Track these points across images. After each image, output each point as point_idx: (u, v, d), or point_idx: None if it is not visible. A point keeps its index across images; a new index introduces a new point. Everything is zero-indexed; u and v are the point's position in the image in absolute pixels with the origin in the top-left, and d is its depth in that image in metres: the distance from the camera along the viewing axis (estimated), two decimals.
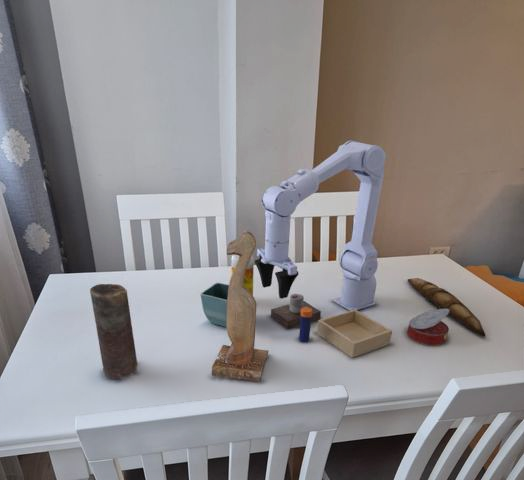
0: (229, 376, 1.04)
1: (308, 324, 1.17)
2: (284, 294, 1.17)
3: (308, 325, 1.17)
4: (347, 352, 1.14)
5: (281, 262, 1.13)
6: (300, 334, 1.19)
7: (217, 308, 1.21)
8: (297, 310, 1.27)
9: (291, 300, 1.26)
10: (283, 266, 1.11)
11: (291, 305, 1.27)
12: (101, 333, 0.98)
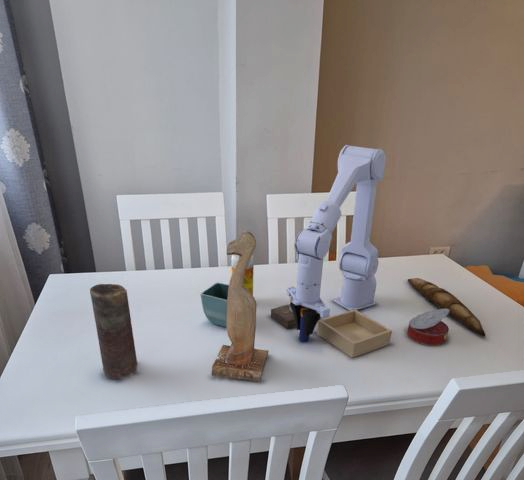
0: (229, 376, 1.04)
1: None
2: (309, 331, 1.17)
3: None
4: (347, 352, 1.14)
5: (313, 304, 1.12)
6: (300, 334, 1.19)
7: (217, 308, 1.21)
8: None
9: (291, 300, 1.26)
10: (315, 308, 1.10)
11: None
12: (101, 333, 0.98)
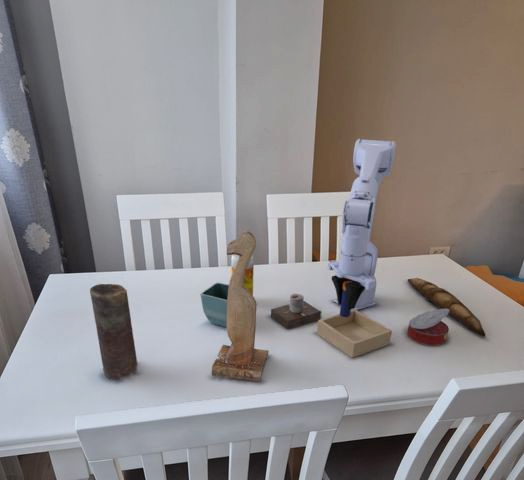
0: (229, 376, 1.04)
1: None
2: (351, 305, 1.14)
3: None
4: (347, 352, 1.14)
5: (357, 276, 1.09)
6: (341, 309, 1.16)
7: (217, 308, 1.21)
8: (297, 310, 1.27)
9: (291, 300, 1.26)
10: (360, 280, 1.07)
11: (291, 305, 1.27)
12: (101, 333, 0.98)
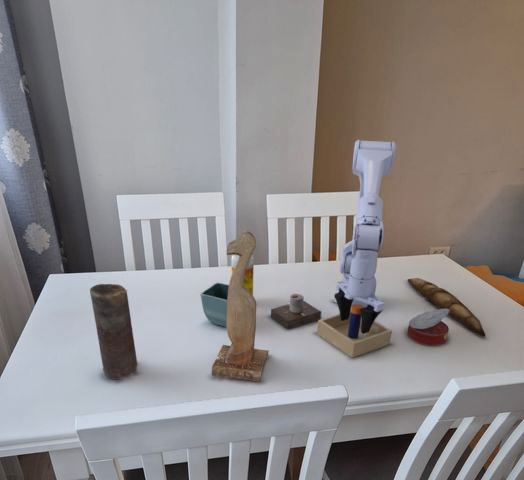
0: (229, 376, 1.04)
1: (358, 321, 1.17)
2: (366, 329, 1.16)
3: (358, 322, 1.17)
4: (347, 352, 1.14)
5: (366, 298, 1.12)
6: (350, 331, 1.19)
7: (217, 308, 1.21)
8: (297, 310, 1.27)
9: (291, 300, 1.26)
10: (369, 302, 1.10)
11: (291, 305, 1.27)
12: (101, 333, 0.98)
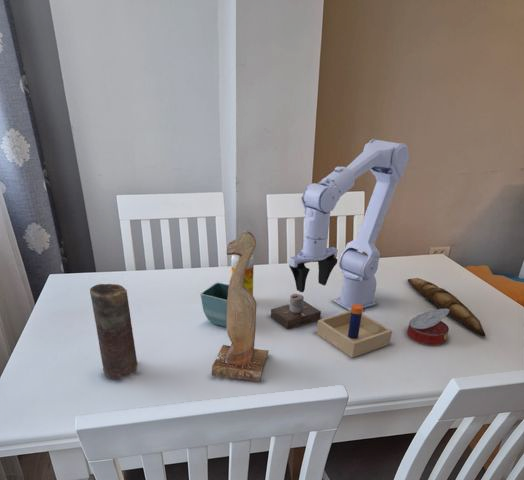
0: (229, 376, 1.04)
1: (358, 321, 1.17)
2: (298, 287, 1.20)
3: (358, 322, 1.17)
4: (347, 352, 1.14)
5: (303, 255, 1.17)
6: (350, 331, 1.19)
7: (217, 308, 1.21)
8: (297, 310, 1.27)
9: (291, 300, 1.26)
10: None
11: (291, 305, 1.27)
12: (101, 333, 0.98)
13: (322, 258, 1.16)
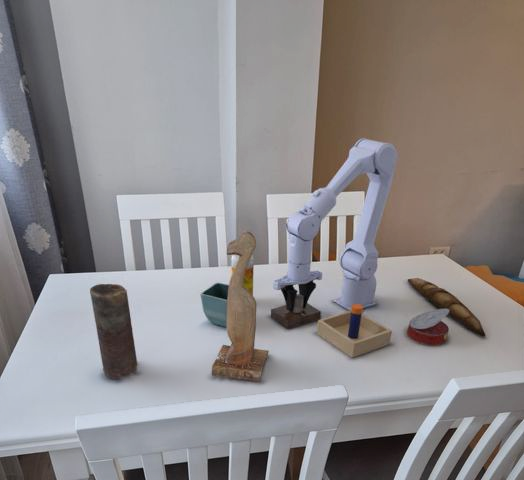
0: (229, 376, 1.04)
1: (358, 321, 1.17)
2: (288, 307, 1.27)
3: (358, 322, 1.17)
4: (347, 352, 1.14)
5: (287, 278, 1.23)
6: (350, 331, 1.19)
7: (217, 308, 1.21)
8: (297, 310, 1.27)
9: None
10: None
11: None
12: (101, 333, 0.98)
13: (305, 282, 1.22)
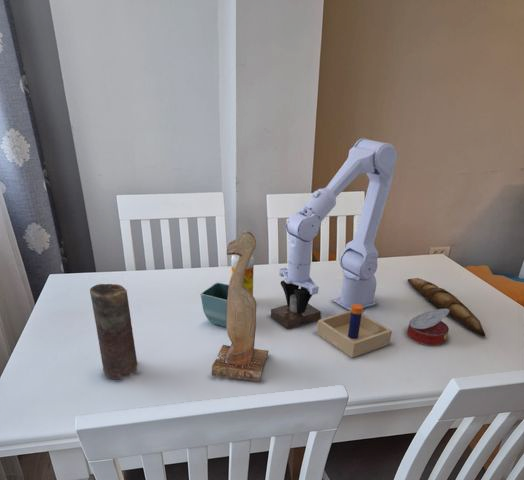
0: (229, 376, 1.04)
1: (358, 321, 1.17)
2: (302, 309, 1.26)
3: (358, 322, 1.17)
4: (347, 352, 1.14)
5: (303, 282, 1.21)
6: (350, 331, 1.19)
7: (217, 308, 1.21)
8: None
9: None
10: (305, 286, 1.20)
11: None
12: (101, 333, 0.98)
13: None
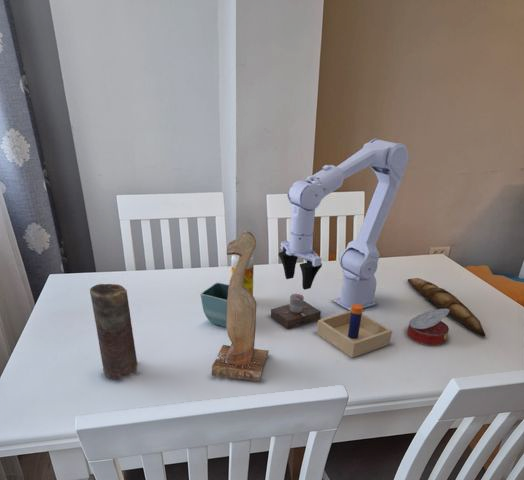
0: (229, 376, 1.04)
1: (358, 321, 1.17)
2: (307, 285, 1.21)
3: (358, 322, 1.17)
4: (347, 352, 1.14)
5: (305, 254, 1.17)
6: (350, 331, 1.19)
7: (217, 308, 1.21)
8: None
9: (300, 301, 1.26)
10: (308, 258, 1.16)
11: (300, 306, 1.27)
12: (101, 333, 0.98)
13: None
